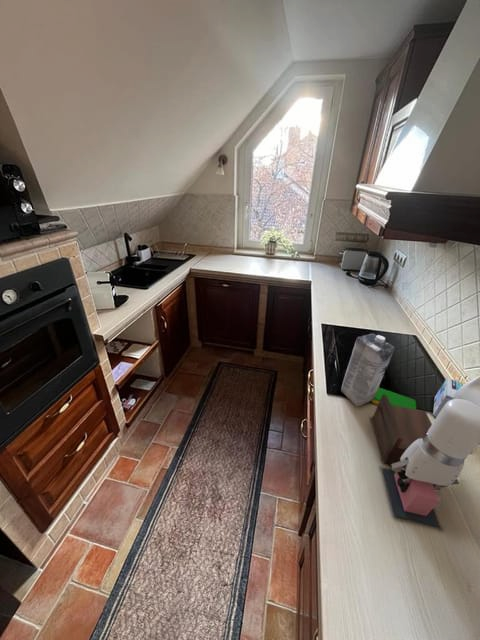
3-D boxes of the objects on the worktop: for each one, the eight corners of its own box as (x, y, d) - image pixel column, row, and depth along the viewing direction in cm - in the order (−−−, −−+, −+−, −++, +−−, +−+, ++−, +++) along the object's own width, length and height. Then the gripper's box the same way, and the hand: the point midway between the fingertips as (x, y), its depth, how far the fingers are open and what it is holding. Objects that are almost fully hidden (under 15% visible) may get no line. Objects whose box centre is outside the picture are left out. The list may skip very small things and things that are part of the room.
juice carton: (357, 410, 91) (380, 350, 77) (336, 390, 99) (354, 332, 86) (375, 402, 94) (400, 344, 81) (354, 383, 103) (373, 327, 89)
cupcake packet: (413, 479, 70) (424, 462, 66) (426, 516, 63) (440, 500, 59) (393, 474, 71) (403, 458, 67) (404, 511, 64) (416, 495, 60)
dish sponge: (373, 390, 100) (374, 385, 99) (413, 404, 94) (415, 400, 93) (371, 402, 94) (373, 397, 93) (413, 418, 89) (416, 413, 88)
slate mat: (420, 477, 72) (420, 476, 71) (439, 527, 62) (439, 526, 61) (382, 469, 73) (382, 468, 73) (394, 516, 63) (395, 515, 63)
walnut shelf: (415, 426, 86) (430, 402, 80) (436, 474, 72) (456, 449, 66) (371, 418, 88) (382, 394, 82) (384, 463, 75) (398, 438, 69)
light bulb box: (434, 397, 97) (446, 376, 92) (455, 405, 94) (469, 384, 89) (432, 415, 90) (446, 394, 84) (455, 425, 87) (471, 404, 81)
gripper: (477, 440, 58) (442, 482, 67) (397, 425, 61) (374, 467, 70) (498, 473, 52) (456, 514, 61) (407, 454, 55) (381, 496, 64)
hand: (412, 488), depth 66 cm, fingers closed on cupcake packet, 5 cm apart
